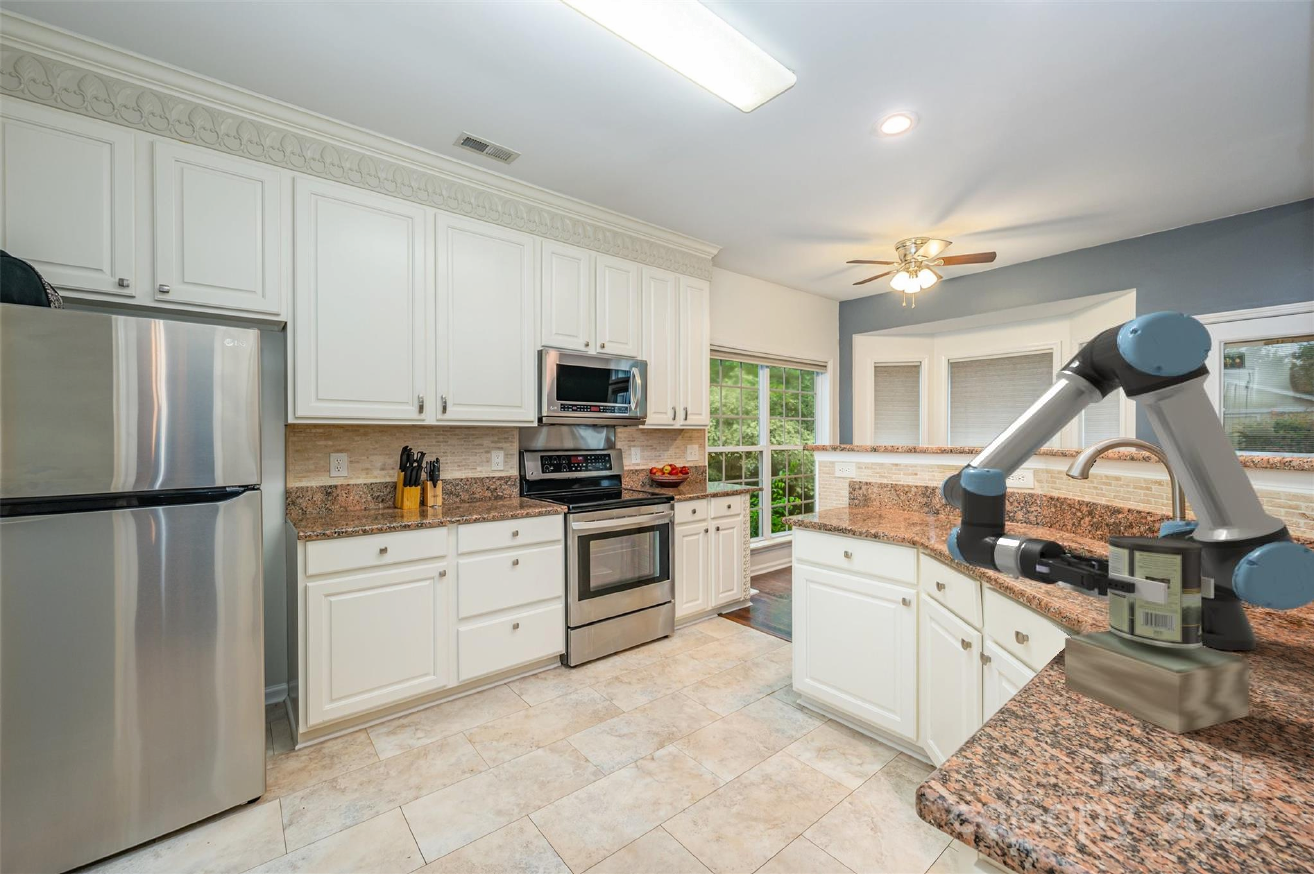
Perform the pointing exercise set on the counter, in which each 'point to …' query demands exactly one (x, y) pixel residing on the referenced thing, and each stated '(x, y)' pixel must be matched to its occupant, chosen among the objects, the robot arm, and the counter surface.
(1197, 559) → the coffee can
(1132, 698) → the riser
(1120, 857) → the counter surface
